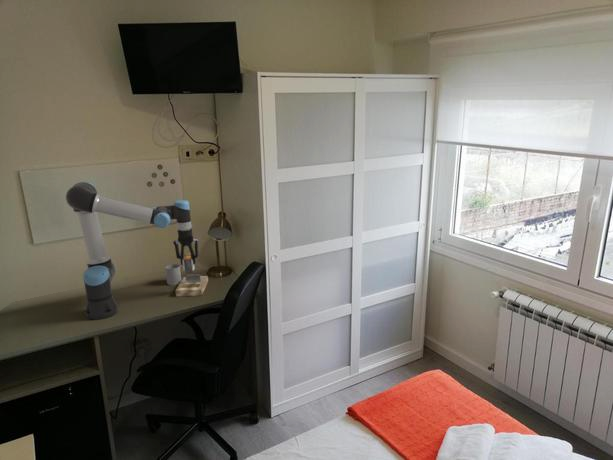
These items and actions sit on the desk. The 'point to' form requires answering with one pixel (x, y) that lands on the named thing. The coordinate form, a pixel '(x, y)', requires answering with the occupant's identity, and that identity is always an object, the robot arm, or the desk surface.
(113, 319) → the desk surface
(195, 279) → the shutter
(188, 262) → the orange grey cylinder
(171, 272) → the cup
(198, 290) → the socket board
